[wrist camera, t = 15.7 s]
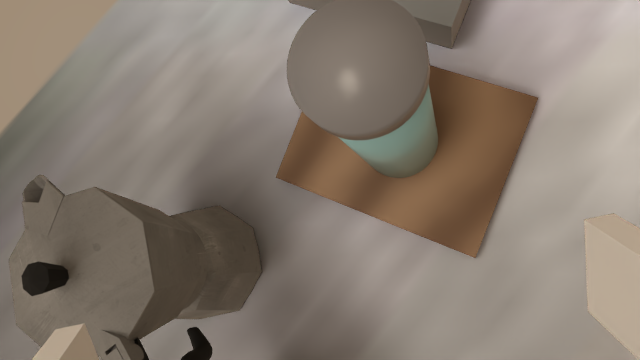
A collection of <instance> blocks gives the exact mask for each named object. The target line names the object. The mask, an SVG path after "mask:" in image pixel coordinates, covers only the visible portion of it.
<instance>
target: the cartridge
mask: <svg viewBox="0 0 640 360" xmlns="http://www.w3.org/2000/svg"><path fill="white" fill-rule="evenodd" d="M429 78H430V64H429V56H428V50H427V44H426V40H425V37H424V34H423V32H422V29H421V27H420V26H419V24H418V22H417V21H416V19H415V18H414V17H413V16H412V15H411V13H409V12H408V11H407V10H406V9H405V8H404V7H402V6H401V5H399V4H398V3H396V2H394V1H392V0H334V1H332V2H330V3H328V4H326V5H324V6H323V7H321V8H320V9H318V10H317V11H316V12H315V13H313V14H312V15H311V16H310V17H309V18H308V19H307V20H306V21H305V23H304V24H303V25H302V26H301V28H300V29H299V31H298V32H297V34H296V36H295V38H294V40H293V42H292V45H291V48H290V51H289V55H288V60H287V79H288V84H289V88H290V91H291V94H292V96H293V98H294V100H295V102H296V104H297V105H298V107H299V108H300V109H301V110H302V112H303V113H304V114H305V115H306V116H307V117H309V118H310V119H311V120H312V121H313V122H314V123H316V124H317V125H318V126H319V127H321V128H322V129H323V130H325V131H326V132H328V133H330V134H332V135H334V136H336V137H338V138H340V139H341V140H342V141H343V142H344V143H345V144H346V145H348V146H349V147H350V148H351V149H352V150H353V151H354V152H355V153H357V154H358V155H359V156H360V157H361V158H362V159H363V160H365V161H366V162H367V163H368V164H369V165H370V166H371V167H373V168H374V169H375V170H376V171H378V172H379V173H381V174H383V175H385V176H388V177H393V178H405V177H409V176H412V175H415V174H417V173H419V172H420V171H422V170H423V169H424V168H425V167H427V166H428V164H429V163H430V162H431V161H432V159H433V157H434V155H435V153H436V150H437V146H438V133H437V127H436V122H435V116H434V111H433V105H432V100H431V94H430V89H429Z"/></svg>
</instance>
